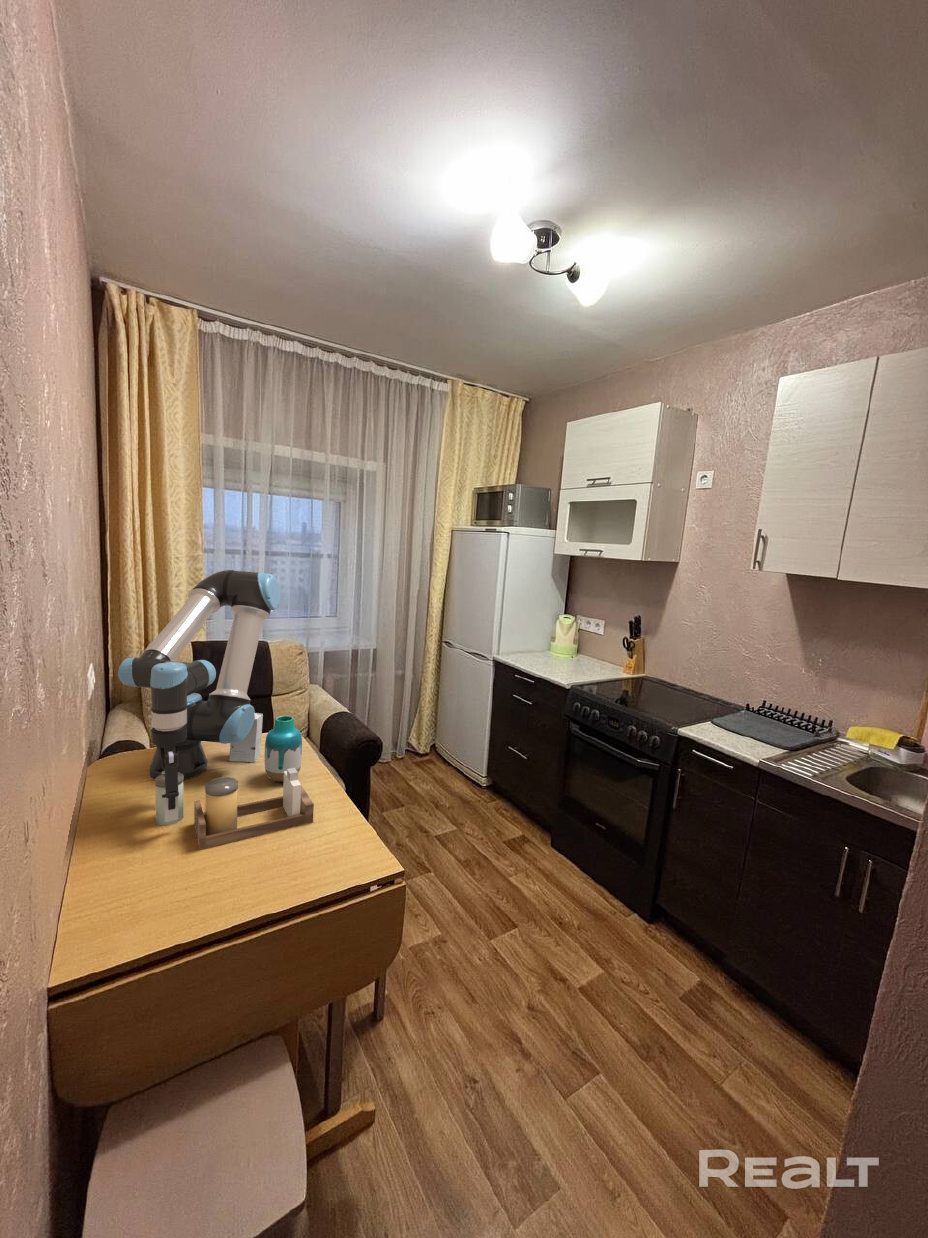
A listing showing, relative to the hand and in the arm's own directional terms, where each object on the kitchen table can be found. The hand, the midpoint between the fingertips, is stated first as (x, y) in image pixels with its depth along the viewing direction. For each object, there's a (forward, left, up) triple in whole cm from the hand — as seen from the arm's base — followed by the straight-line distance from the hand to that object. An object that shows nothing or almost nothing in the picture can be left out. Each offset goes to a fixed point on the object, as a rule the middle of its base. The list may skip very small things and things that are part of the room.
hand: (169, 806), depth 123 cm
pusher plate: (+11, +27, -3) cm, 29 cm away
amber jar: (+11, +10, -3) cm, 15 cm away
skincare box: (-29, +23, -4) cm, 37 cm away
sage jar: (0, 0, -3) cm, 3 cm away
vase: (-10, +30, -3) cm, 32 cm away
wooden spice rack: (+11, +18, -3) cm, 21 cm away
